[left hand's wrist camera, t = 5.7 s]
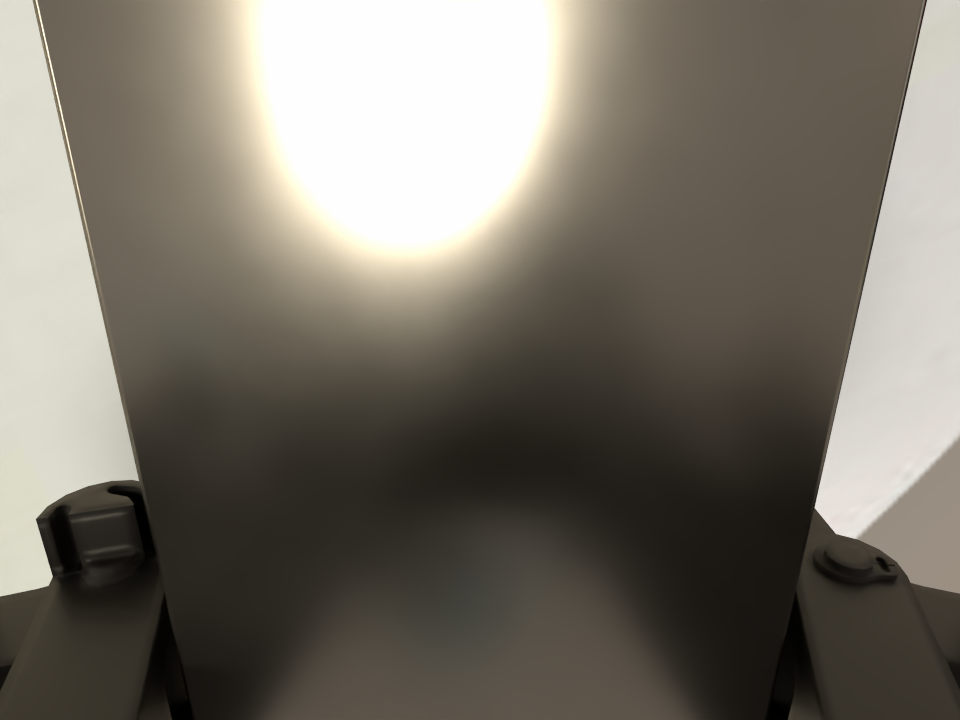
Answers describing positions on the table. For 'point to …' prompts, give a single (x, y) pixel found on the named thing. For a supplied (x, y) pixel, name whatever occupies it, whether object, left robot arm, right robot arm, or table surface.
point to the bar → (479, 333)
